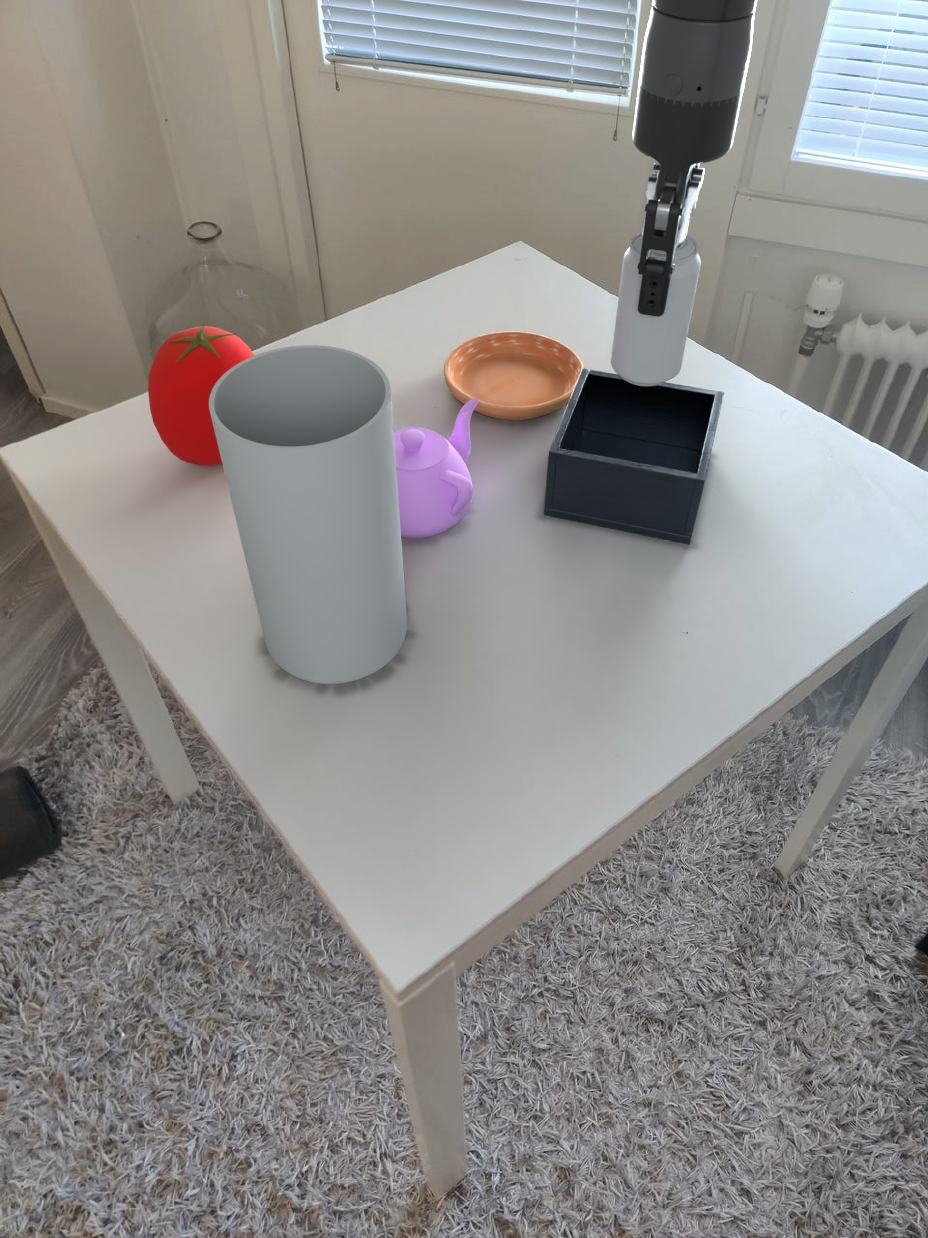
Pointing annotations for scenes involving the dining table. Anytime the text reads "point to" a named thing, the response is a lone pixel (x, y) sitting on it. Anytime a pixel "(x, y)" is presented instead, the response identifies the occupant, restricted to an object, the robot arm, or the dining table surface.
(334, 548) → the cylinder vase
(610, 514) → the dark gray open box
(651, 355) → the beverage can
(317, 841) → the dining table surface
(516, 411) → the saucer
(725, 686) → the dining table surface
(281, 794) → the dining table surface
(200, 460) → the tomato
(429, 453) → the teapot
